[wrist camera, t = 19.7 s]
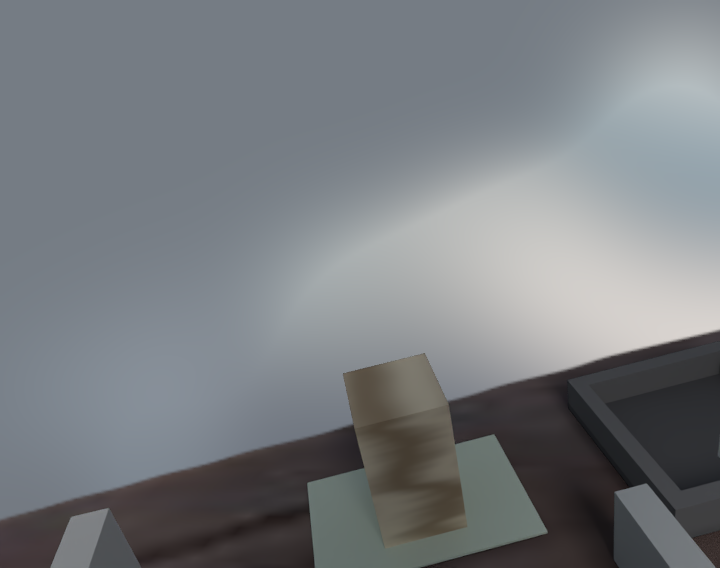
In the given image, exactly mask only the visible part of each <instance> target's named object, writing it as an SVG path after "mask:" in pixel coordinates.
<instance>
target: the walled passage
mask: <svg viewBox="0 0 720 568" xmlns="http://www.w3.org/2000/svg"><path fill="white" fill-rule="evenodd" d="M614 561H615V562H616V564H617V565H618V567H619V568H715V566H714V565H713V564H712V563H711V561H710V560H709V559H708V558H707V557H706V555H705V554H704V553H703V552H702V550H701V549H700V548H699V547H698V546H697V544H696V543H695V542H694V541H693V539H692V538H691V537H690V536H689V535H688V533H687V532H686V531H685V530H684V528H683V527H682V526H681V525H680V523H679V522H678V521H677V520H676V519H675V517H674V516H673V515H672V514H671V512H670V511H669V510H668V509H667V508H666V506H665V505H664V504H663V503H662V501H661V500H660V499H659V498H658V497H657V495H656V494H655V493H654V492H653V490H652V489H651V488H650V487H649V486H648V484H647V483H646V484H642V485H639V486H635V487H631V488H628V489H624V490H620V491H616V492H615V496H614Z"/></svg>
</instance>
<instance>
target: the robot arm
mask: <svg viewBox="0 0 720 568" xmlns="http://www.w3.org/2000/svg"><path fill="white" fill-rule="evenodd" d="M718 456H719V457H720V441H719V449H718ZM51 568H141V566H140V564H139V562H138V561H137V559H136V557H135V555H134V553H133V551H132V550H131V548H130V546H129V544H128V542H127V540H126V538H125V537H124V535H123V533H122V531H121V529H120V527H119V526H118V524H117V522H116V520H115V518H114V516H113V514H112V513H111V511H110V509H109V508H106V509H102V510H98V511H94V512H90V513H86V514H82V515H78V516H73V517H71V519H70V521H69V523H68V526H67V528H66V531H65V533H64V536H63V538H62V541H61V543H60V546H59V548H58V550H57V553H56V555H55V558H54V560H53V563H52V565H51Z"/></svg>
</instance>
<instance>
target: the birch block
mask: <svg viewBox="0 0 720 568" xmlns="http://www.w3.org/2000/svg"><path fill="white" fill-rule="evenodd" d="M343 376H344V381H345V386H346V391H347V395H348V400H349V405H350V410H351V414H352V418H353V424H354V428H355V432H356V436H357V440H358V444H359V448H360V452H361V456H362V460H363V464H364V468H365V472H366V476H367V480H368V484H369V488H370V492H371V496H372V500H373V504H374V507H375V511H376V515H377V519H378V523H379V527H380V531H381V535H382V539H383V543H384V547H385V549H386V548H389V547H393V546H397V545H401V544H405V543H408V542H412V541H416V540H420V539H423V538H427V537H431V536H435V535H439V534H442V533H446V532H450V531H454V530H458V529H461V528H465V527H467V520H466V514H465V507H464V501H463V494H462V488H461V481H460V475H459V468H458V461H457V455H456V448H455V442H454V435H453V429H452V422H451V416H450V409H449V404H448V402H447V400H446V398H445V396H444V393H443V391H442V389H441V387H440V385H439V383H438V380H437V378H436V376H435V374H434V372H433V370H432V368H431V365H430V363H429V361H428V359H427V357H426V355H425V353H424V354H420V355H416V356H412V357H408V358H403V359H400V360H395V361H391V362H387V363H384V364H379V365H375V366H371V367H367V368H363V369H359V370H355V371H351V372H347V373H343Z"/></svg>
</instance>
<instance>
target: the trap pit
mask: <svg viewBox="0 0 720 568" xmlns="http://www.w3.org/2000/svg"><path fill="white" fill-rule="evenodd" d="M567 383H568V408H569V410H570V411H571V412H572V413H573V415H574V416H575V417H576V419H577V420H578V421H579V422H580V424H581V425H582V426H583V428H584V429H585V430H586V431H587V433H588V434H589V435H590V437H591V438H592V439H593V440H594V442H595V443H596V444H597V446H598V447H599V448H600V450H601V451H602V452H603V453H604V455H605V456H606V457H607V459H608V460H609V461H610V462H611V464H612V465H613V466H614V468H615V469H616V470H617V471H618V473H619V474H620V475H621V477H622V478H623V479H624V481H625V482H626V483H627V484H628V486H629V487H630V488H631V487H635V486H639V485H642V484H646V483H647V484H648V486H649V487H650V488H651V489H652V490H653V492H654V493H655V494H656V495H657V497H658V498H659V499H660V500H661V501H662V503H663V504H664V505H665V506H666V508H667V509H668V510H669V511H670V512H671V514H672V515H673V516H674V517H675V519H676V520H677V521H678V522H679V523H680V525H681V526H682V527H683V528H684V530H685V531H686V532H687V533H688V535H689V536H690V537H691V538H693V537H697V536H701V535H704V534H708V533H712V532H715V531H719V530H720V457H719V456H718V449H719V441H720V341H717V342H714V343H710V344H706V345H702V346H698V347H694V348H690V349H686V350H682V351H679V352H675V353H671V354H667V355H663V356H659V357H655V358H651V359H647V360H643V361H640V362H636V363H632V364H628V365H624V366H620V367H616V368H612V369H608V370H605V371H601V372H597V373H593V374H589V375H585V376H581V377H577V378H573V379H569V380H567Z"/></svg>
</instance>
